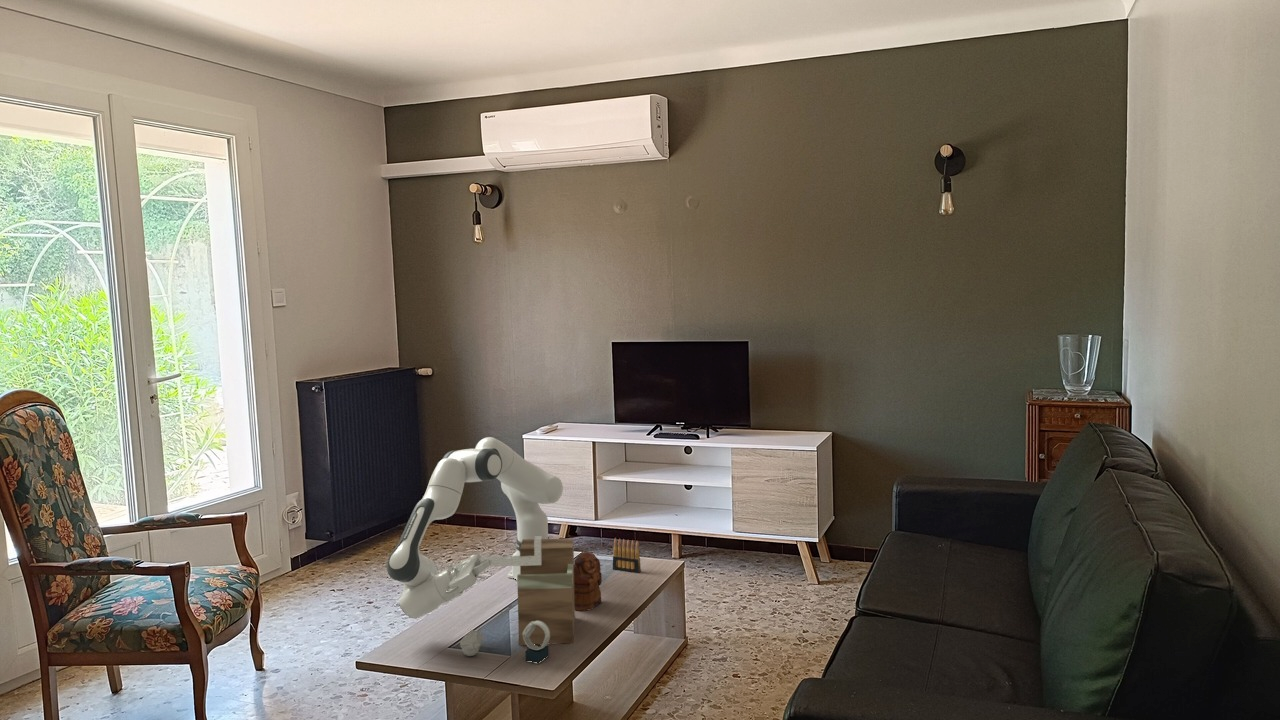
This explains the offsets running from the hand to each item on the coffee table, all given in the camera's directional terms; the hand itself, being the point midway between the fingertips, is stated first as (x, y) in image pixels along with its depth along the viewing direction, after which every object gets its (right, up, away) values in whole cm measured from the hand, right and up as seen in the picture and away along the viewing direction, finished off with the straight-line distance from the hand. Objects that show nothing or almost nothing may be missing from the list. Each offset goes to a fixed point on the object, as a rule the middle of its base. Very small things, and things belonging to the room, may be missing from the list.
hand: (490, 559), depth 263 cm
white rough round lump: (-4, -26, -9) cm, 27 cm away
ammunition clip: (+40, -18, +63) cm, 77 cm away
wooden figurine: (+27, -22, +29) cm, 45 cm away
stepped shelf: (+16, -24, +8) cm, 30 cm away
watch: (+15, -26, -12) cm, 32 cm away
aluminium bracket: (+6, -1, 0) cm, 6 cm away
